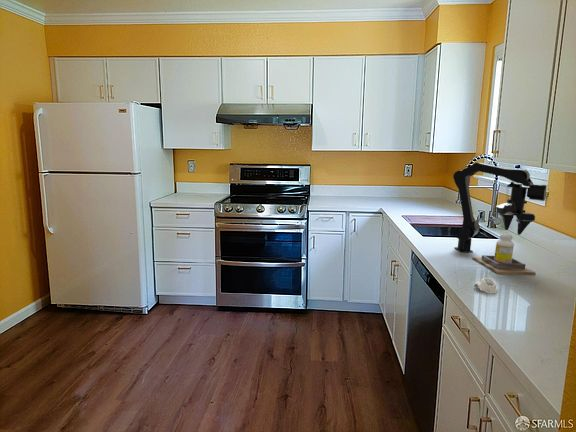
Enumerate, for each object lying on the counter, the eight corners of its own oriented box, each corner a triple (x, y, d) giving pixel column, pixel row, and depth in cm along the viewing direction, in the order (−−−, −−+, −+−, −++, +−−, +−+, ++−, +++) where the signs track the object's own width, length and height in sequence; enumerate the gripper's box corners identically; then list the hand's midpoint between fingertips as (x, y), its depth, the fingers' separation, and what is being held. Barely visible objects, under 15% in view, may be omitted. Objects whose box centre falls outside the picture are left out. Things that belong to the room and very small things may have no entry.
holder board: (472, 258, 181) (473, 252, 180) (506, 259, 182) (507, 253, 181) (497, 273, 161) (498, 266, 161) (535, 274, 162) (536, 267, 162)
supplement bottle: (495, 260, 176) (499, 232, 174) (512, 264, 172) (516, 235, 170) (491, 264, 171) (496, 235, 169) (509, 267, 167) (513, 238, 164)
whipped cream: (488, 289, 147) (490, 276, 147) (503, 294, 141) (505, 280, 140) (470, 288, 145) (472, 275, 144) (484, 294, 138) (486, 280, 138)
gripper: (488, 194, 185) (484, 227, 188) (513, 200, 167) (507, 236, 170) (511, 195, 186) (506, 227, 189) (538, 201, 167) (532, 237, 171)
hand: (512, 232), depth 179 cm, fingers open, 9 cm apart
